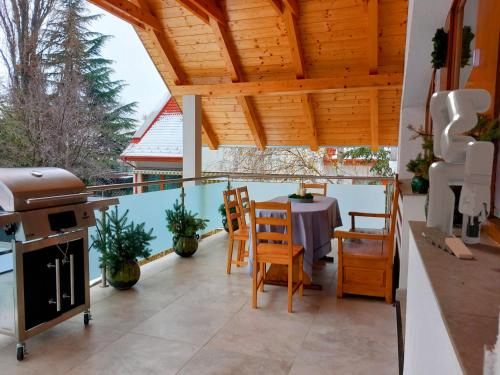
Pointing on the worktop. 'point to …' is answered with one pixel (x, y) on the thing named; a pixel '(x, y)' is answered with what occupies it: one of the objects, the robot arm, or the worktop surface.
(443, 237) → the domino
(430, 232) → the domino
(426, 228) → the domino
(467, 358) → the worktop surface
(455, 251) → the end tile
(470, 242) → the skincare box
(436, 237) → the domino
